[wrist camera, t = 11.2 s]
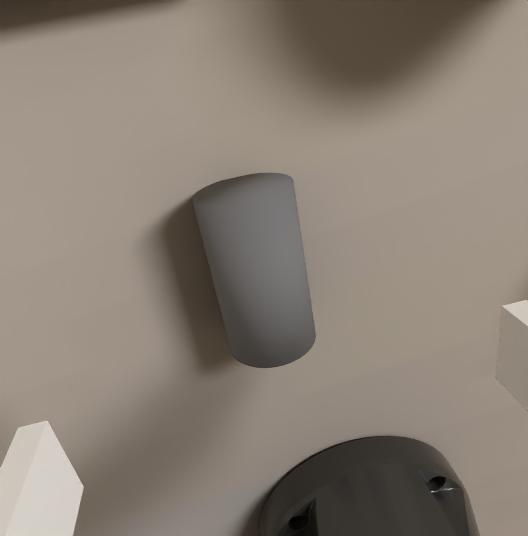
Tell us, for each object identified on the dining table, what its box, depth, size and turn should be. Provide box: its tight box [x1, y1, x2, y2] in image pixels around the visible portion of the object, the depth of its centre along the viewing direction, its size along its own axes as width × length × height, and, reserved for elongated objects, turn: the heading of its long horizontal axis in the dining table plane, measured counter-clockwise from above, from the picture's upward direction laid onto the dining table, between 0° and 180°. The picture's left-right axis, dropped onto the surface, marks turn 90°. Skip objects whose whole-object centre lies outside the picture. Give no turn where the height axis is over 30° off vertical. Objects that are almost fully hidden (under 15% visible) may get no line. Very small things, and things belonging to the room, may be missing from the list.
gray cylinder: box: [192, 173, 316, 368], centre depth 21 cm, size 8×4×4 cm, turn 10°
